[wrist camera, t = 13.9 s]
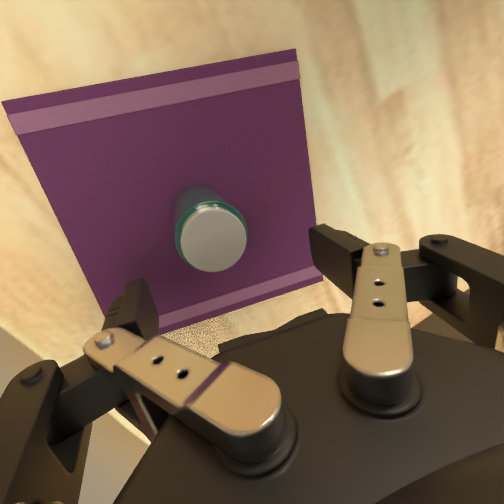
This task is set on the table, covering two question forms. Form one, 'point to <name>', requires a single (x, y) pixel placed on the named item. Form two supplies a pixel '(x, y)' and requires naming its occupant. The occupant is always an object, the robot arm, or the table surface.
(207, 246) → the salt shaker
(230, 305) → the napkin
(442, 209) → the table surface
